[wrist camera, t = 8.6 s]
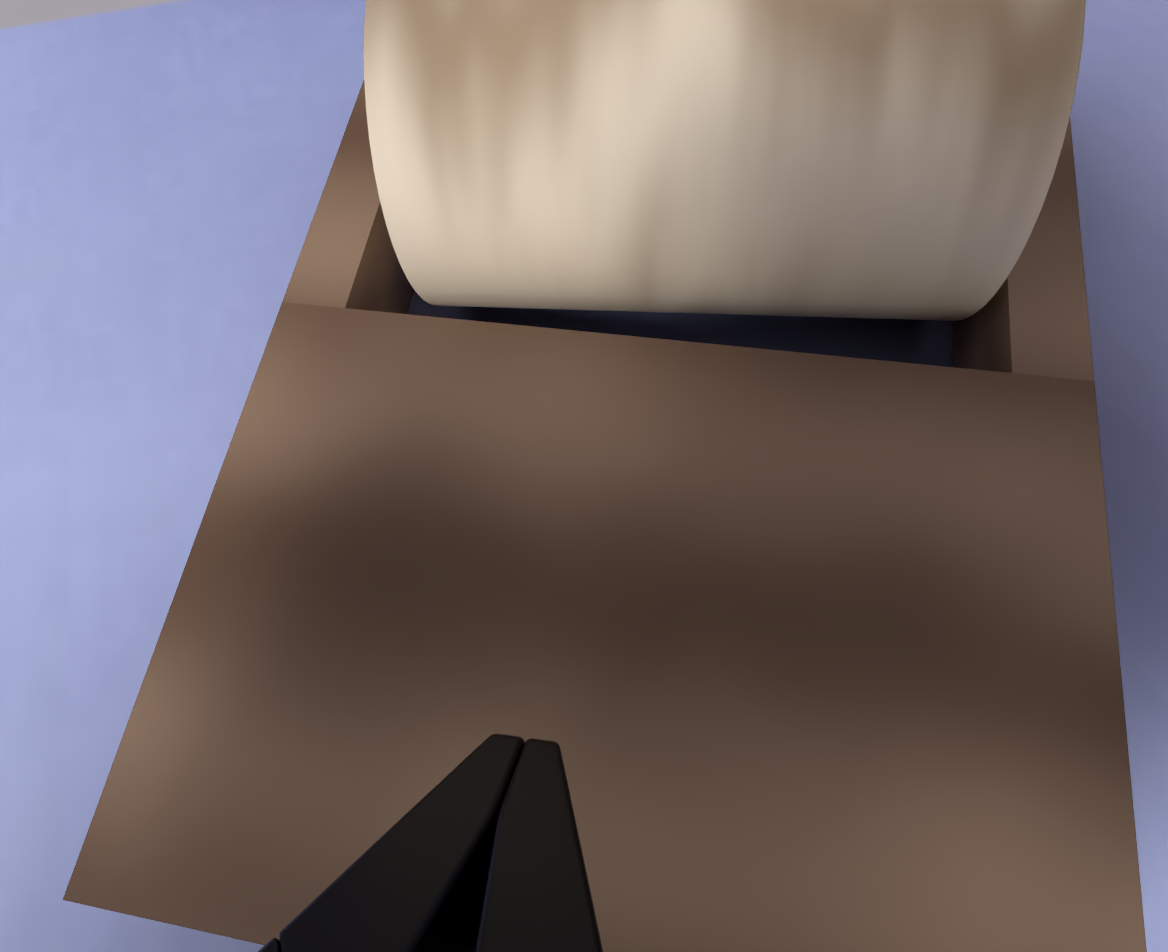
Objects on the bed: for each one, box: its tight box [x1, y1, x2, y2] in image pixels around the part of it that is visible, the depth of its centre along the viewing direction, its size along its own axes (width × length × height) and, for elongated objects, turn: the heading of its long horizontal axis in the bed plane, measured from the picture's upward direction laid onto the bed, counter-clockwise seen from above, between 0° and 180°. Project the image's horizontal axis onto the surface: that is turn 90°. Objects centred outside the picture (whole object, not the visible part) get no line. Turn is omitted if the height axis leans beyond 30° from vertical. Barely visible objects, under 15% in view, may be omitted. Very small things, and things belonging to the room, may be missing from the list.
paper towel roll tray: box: [63, 81, 1147, 952], centre depth 17 cm, size 23×17×3 cm
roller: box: [364, 0, 1086, 321], centre depth 17 cm, size 8×12×8 cm, turn 85°
